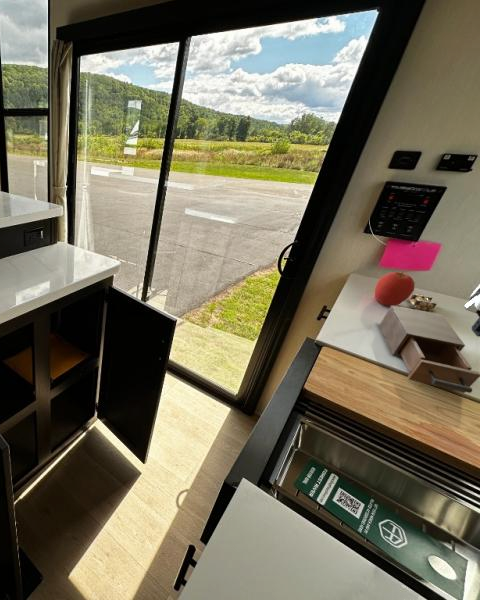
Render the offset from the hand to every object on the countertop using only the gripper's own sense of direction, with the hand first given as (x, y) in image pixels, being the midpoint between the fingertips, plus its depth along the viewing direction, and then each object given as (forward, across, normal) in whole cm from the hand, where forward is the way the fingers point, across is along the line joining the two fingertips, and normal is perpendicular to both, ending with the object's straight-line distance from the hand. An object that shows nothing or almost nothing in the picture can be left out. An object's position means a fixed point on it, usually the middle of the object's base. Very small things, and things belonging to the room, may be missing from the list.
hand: (478, 333), depth 77 cm
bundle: (+19, +10, +48) cm, 52 cm away
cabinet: (+19, -1, +19) cm, 27 cm away
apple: (+19, -1, +45) cm, 49 cm away
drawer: (+18, -1, +4) cm, 18 cm away
